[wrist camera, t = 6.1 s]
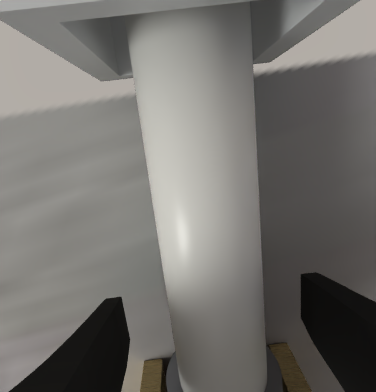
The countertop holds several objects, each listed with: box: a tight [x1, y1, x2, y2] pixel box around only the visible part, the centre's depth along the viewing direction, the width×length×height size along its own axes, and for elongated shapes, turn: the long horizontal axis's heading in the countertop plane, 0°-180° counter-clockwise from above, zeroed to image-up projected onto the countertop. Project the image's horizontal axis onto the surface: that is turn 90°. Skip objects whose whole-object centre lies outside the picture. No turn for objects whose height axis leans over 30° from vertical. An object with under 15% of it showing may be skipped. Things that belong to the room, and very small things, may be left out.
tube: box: [124, 1, 283, 392], centre depth 9 cm, size 18×4×4 cm, turn 6°
